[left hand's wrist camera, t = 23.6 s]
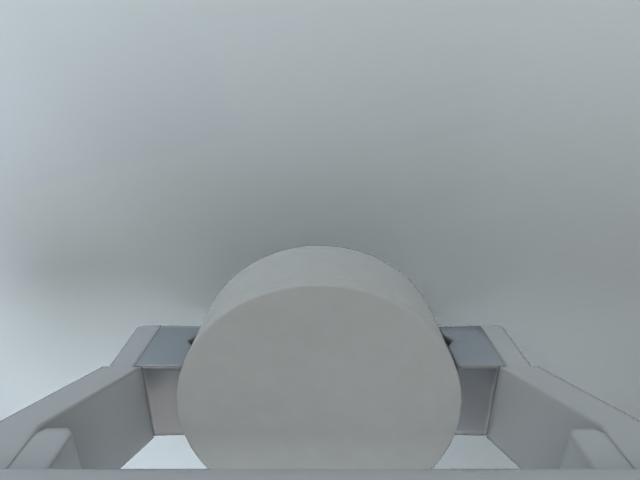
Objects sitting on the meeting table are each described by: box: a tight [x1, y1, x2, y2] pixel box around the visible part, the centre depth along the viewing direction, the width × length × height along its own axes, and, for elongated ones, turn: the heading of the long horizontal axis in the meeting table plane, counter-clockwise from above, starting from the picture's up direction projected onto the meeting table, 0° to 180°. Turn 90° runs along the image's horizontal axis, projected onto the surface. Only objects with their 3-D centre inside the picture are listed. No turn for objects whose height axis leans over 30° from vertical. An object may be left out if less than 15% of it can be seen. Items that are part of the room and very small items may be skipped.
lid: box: [177, 246, 462, 469], centre depth 9 cm, size 6×6×2 cm
